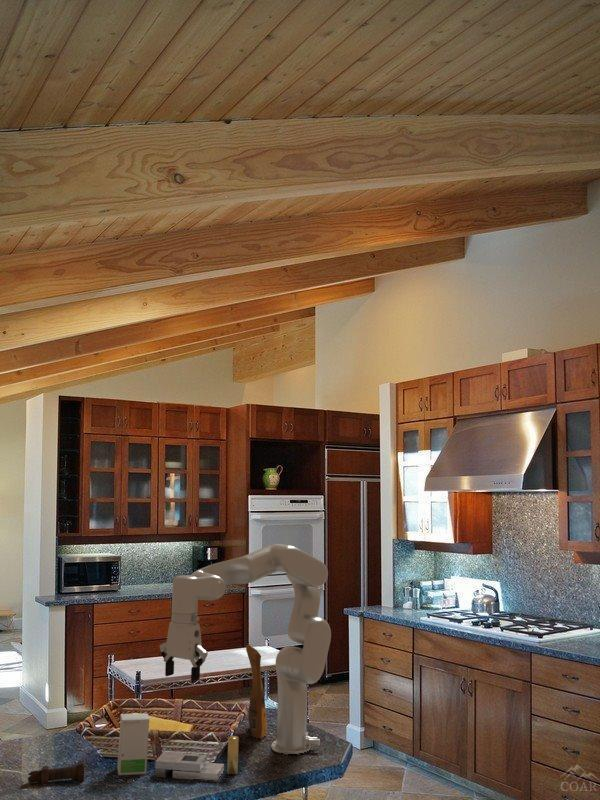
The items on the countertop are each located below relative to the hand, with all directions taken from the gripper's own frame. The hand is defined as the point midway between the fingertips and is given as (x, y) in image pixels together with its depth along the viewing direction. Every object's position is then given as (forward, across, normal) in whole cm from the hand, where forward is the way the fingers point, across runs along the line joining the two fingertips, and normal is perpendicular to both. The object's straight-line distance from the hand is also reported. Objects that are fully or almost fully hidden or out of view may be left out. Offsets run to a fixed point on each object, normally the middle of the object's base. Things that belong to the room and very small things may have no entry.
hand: (182, 677), depth 236 cm
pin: (+27, -12, -10) cm, 31 cm away
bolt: (+28, +24, +24) cm, 44 cm away
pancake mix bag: (+28, +3, -44) cm, 52 cm away
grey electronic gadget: (+27, -2, -2) cm, 27 cm away
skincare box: (+27, +13, +6) cm, 31 cm away
